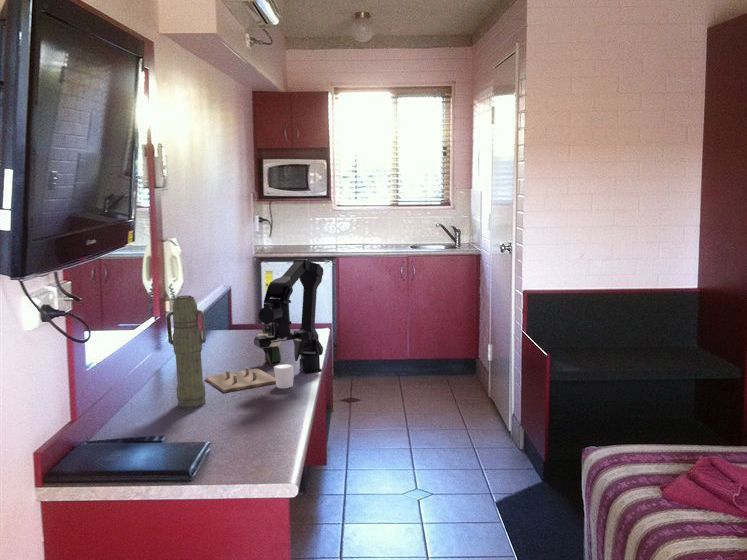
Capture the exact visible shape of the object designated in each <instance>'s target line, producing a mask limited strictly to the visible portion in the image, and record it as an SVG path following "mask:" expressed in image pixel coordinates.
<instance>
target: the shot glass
mask: <svg viewBox="0 0 747 560" xmlns="http://www.w3.org/2000/svg"><path fill="white" fill-rule="evenodd" d="M273 370H274V378H275V379H276V383H275V385H276V388H278V389H289V387H290V388H292V387H293V386H294V372H295V371H294V370H295V365H293V364H290V363H286V364H285V363H283V364H282V363H281V364H276V365H275V366H273Z"/></svg>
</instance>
